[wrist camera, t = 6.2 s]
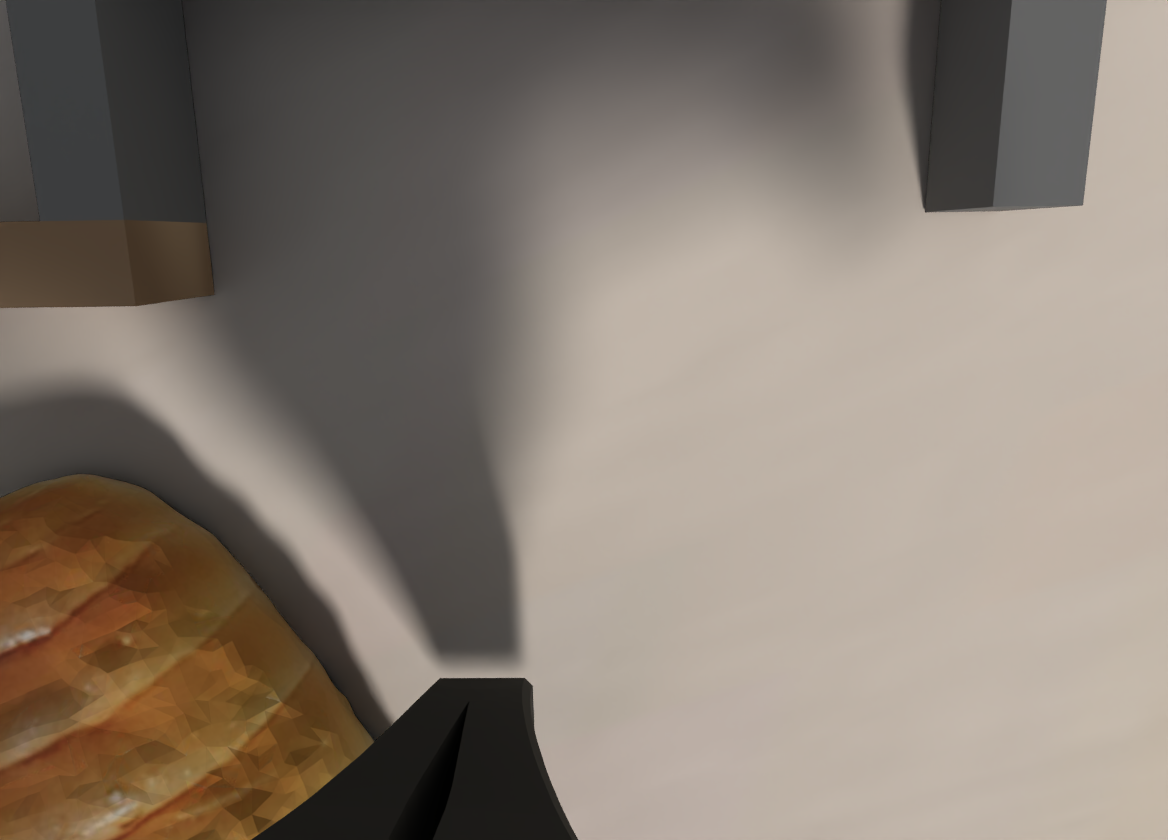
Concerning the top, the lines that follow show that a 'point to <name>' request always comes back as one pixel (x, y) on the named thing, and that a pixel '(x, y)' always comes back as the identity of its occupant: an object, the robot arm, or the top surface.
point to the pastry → (149, 677)
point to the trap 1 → (170, 150)
